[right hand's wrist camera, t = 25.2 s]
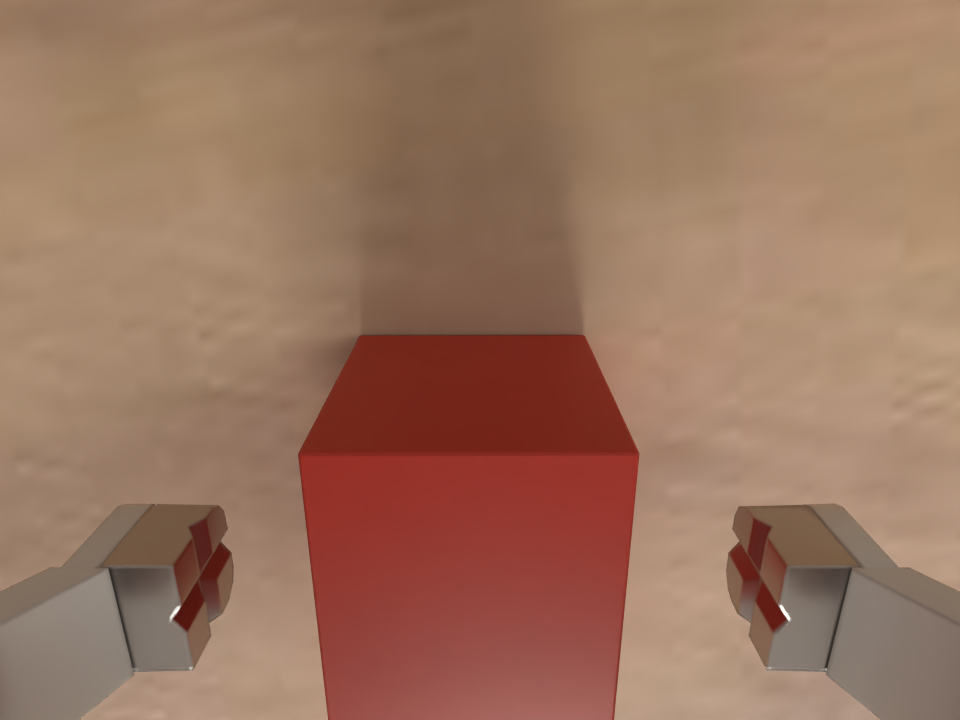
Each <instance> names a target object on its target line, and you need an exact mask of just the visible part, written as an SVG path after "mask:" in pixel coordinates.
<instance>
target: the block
mask: <svg viewBox="0 0 960 720" xmlns="http://www.w3.org/2000/svg"><path fill="white" fill-rule="evenodd" d="M298 457H299V466H300V475H301V484H302V493H303V501H304V510H305V519H306V528H307V537H308V545H309V554H310V563H311V572H312V581H313V590H314V598H315V607H316V616H317V625H318V634H319V642H320V651H321V660H322V669H323V678H324V687H325V695H326V704H327V713H328V720H614V713H615V703H616V692H617V682H618V671H619V661H620V650H621V640H622V629H623V619H624V609H625V598H626V588H627V577H628V567H629V556H630V546H631V535H632V525H633V514H634V504H635V494H636V483H637V473H638V462H639V452H638V450H637V448H636V445H635V443H634V441H633V439H632V437H631V435H630V432H629V430H628V428H627V426H626V424H625V422H624V419H623V417H622V415H621V413H620V411H619V409H618V407H617V404H616V402H615V400H614V398H613V396H612V394H611V391H610V389H609V387H608V385H607V383H606V381H605V378H604V376H603V374H602V372H601V370H600V368H599V365H598V363H597V361H596V359H595V357H594V355H593V353H592V350H591V348H590V346H589V344H588V342H587V340H586V337H585V336H584V335H428V336H360V337H359V339H358V341H357V342H356V344H355V346H354V348H353V350H352V352H351V354H350V356H349V358H348V360H347V362H346V364H345V365H344V367H343V369H342V371H341V373H340V375H339V377H338V379H337V381H336V383H335V385H334V386H333V388H332V390H331V392H330V394H329V396H328V398H327V400H326V402H325V404H324V406H323V407H322V409H321V411H320V413H319V415H318V417H317V419H316V421H315V423H314V425H313V427H312V429H311V430H310V432H309V434H308V436H307V438H306V440H305V442H304V444H303V446H302V448H301V450H300V451H299V454H298Z"/></svg>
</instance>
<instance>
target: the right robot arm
mask: <svg viewBox="0 0 960 720" xmlns="http://www.w3.org/2000/svg"><path fill="white" fill-rule="evenodd" d="M227 529H228V528H227V523H226V518H225V513H224V510H223V509H222V508H221V507H220V506H219V505H174V504H157V505H155V504H125V505H121V506H118V507H117V508H116V509H115V510H114V511H113V512H112V513H111V514H110V515H109V516H108V517H107V518H106V520H105V521H104V522H103V523H102V524H101V525H100V526H99V527H98V528H97V529H96V530H95V531H94V532H93V534H92V535H91V536H90V537H89V538H88V539H87V540H86V541H85V542H84V543H83V544H82V545H81V547H80V548H79V549H78V550H77V551H76V552H75V553H74V554H73V555H72V556H71V557H70V558H69V560H68V561H67V562H66V563H65V564H64V565H63V566H62V567H61V568H49V569H47V570H45V571H42V572H40V573H38V574H36V575H34V576H32V577H30V578H28V579H26V580H24V581H22V582H20V583H17V584H15V585H13V586H11V587H9V588H7V589H5V590H3V591H1V592H0V720H80V719H81V718H82V717H83V716H84V715H86V714H87V713H88V712H89V711H91V710H92V709H93V708H94V707H95V706H97V705H98V704H99V703H100V702H102V701H103V700H104V699H105V698H106V697H108V696H109V695H110V694H111V693H113V692H114V691H115V690H116V689H117V688H119V687H120V686H121V685H122V684H124V683H125V682H126V681H127V680H128V679H130V678H131V677H132V676H133V675H134V672H146V671H181V670H194V668H195V666H196V664H197V662H198V660H199V658H200V656H201V654H202V652H203V650H204V648H205V647H206V645H207V643H208V641H209V639H210V637H211V632H210V626H209V623H210V622H211V621H213V620H214V619H215V618H217V617H218V616H220V615H221V614H222V613H223V611H224V609H225V607H226V605H227V603H228V601H229V598H230V593H231V589H232V584H233V560H232V553H231V552H230V551H229V550H228V549H227V548H226V547H225V546H224V545H223V544H222V543H221V542H220V541H221V539H222V538H223V536H224V534H225V533H226V531H227ZM732 529H733V531H734V533H735V534H736V536H737V538H738V539H739V541H740V542H739V543H738V544H737V545H736V546H735V547H734V548H733V549H732V550H731V551H730V552H729V553H728V561H727V569H726V573H727V584H728V591H729V594H730V597H731V601H732V603H733V605H734V607H735V609H736V611H737V613H738V614H739V615H740V616H742V617H743V618H745V619H746V620H747V621H749V622H750V623H751V626H750V632H749V637H750V639H751V641H752V643H753V645H754V647H755V648H756V650H757V652H758V654H759V656H760V658H761V660H762V662H763V664H764V666H765V668H766V670H778V671H813V672H826V675H827V676H828V677H829V678H831V679H832V680H833V681H834V682H836V683H837V684H838V685H839V686H840V687H842V688H843V689H844V690H845V691H846V692H848V693H849V694H850V695H851V696H853V697H854V698H855V699H856V700H857V701H859V702H860V703H861V704H862V705H864V706H865V707H866V708H867V709H868V710H870V711H871V712H872V713H873V714H875V715H876V716H877V717H878V718H879V719H881V720H960V592H959V591H957V590H955V589H953V588H951V587H949V586H947V585H945V584H942V583H940V582H938V581H936V580H934V579H932V578H930V577H928V576H926V575H924V574H922V573H920V572H917V571H915V570H913V569H911V568H899V567H898V566H897V565H896V564H895V563H894V562H893V561H892V560H891V558H890V557H889V556H888V555H887V554H886V553H885V552H884V551H883V550H882V549H881V548H880V547H879V545H878V544H877V543H876V542H875V541H874V540H873V539H872V538H871V537H870V536H869V535H868V534H867V532H866V531H865V530H864V529H863V528H862V527H861V526H860V525H859V524H858V523H857V522H856V521H855V519H854V518H853V517H852V516H851V515H850V514H849V513H848V512H847V511H846V510H845V509H844V508H843V507H842V506H839V505H837V504H807V505H782V506H739V507H738V509H737V512H736V514H735V517H734V522H733V528H732Z"/></svg>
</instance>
